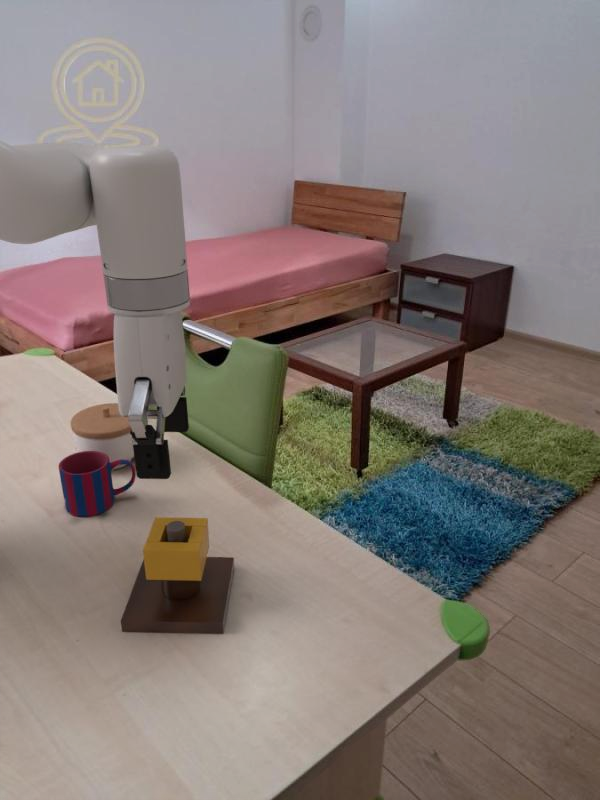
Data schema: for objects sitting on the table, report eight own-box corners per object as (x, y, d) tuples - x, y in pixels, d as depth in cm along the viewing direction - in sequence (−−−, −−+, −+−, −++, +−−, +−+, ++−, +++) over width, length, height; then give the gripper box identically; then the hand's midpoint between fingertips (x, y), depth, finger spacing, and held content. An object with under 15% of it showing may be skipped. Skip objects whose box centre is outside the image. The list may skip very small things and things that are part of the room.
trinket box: (159, 460, 102) (154, 407, 98) (99, 485, 95) (91, 430, 91) (123, 438, 109) (117, 388, 105) (64, 460, 101) (55, 407, 98)
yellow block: (146, 580, 69) (142, 550, 67) (158, 545, 74) (155, 517, 72) (201, 581, 68) (199, 551, 67) (209, 546, 74) (207, 518, 72)
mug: (69, 493, 93) (62, 452, 90) (139, 487, 95) (134, 447, 92) (61, 519, 87) (54, 476, 84) (136, 512, 89) (131, 470, 86)
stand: (121, 631, 68) (111, 557, 64) (145, 565, 78) (138, 497, 74) (223, 633, 68) (219, 559, 64) (234, 567, 78) (231, 498, 74)
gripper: (131, 269, 66) (148, 416, 73) (75, 317, 50) (104, 498, 58) (203, 269, 66) (212, 416, 73) (169, 318, 50) (186, 499, 57)
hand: (164, 452), depth 65 cm, fingers open, 9 cm apart
